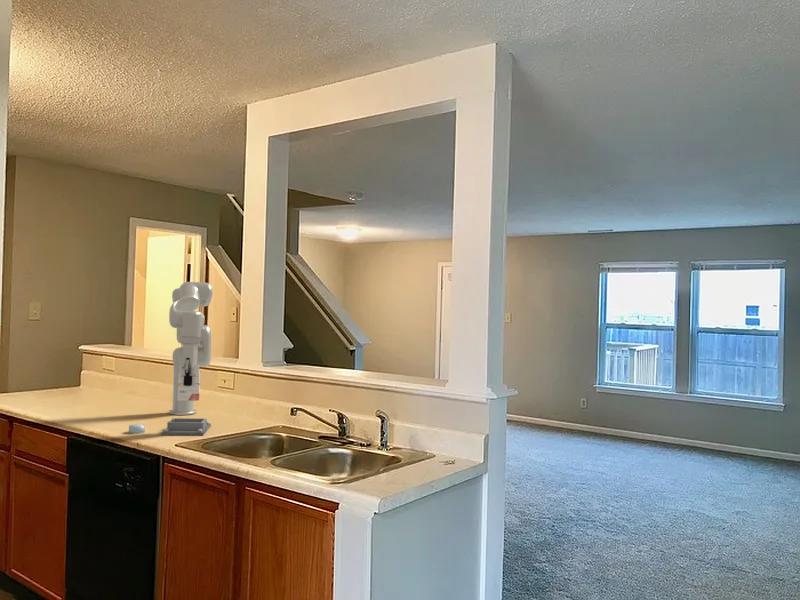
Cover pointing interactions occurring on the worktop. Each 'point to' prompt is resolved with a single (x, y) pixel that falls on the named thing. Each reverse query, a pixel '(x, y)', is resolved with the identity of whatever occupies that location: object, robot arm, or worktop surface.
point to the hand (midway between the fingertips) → (189, 384)
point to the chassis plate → (187, 426)
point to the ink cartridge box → (189, 391)
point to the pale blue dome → (137, 428)
